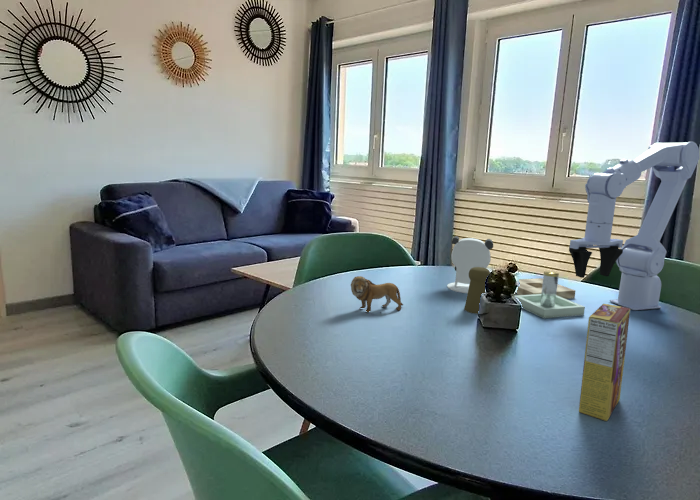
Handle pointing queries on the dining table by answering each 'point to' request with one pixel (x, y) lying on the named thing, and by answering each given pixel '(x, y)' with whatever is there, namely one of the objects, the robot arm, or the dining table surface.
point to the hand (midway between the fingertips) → (592, 276)
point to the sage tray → (560, 309)
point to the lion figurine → (374, 292)
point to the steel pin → (549, 289)
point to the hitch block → (536, 288)
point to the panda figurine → (468, 260)
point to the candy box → (604, 361)
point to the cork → (475, 288)
